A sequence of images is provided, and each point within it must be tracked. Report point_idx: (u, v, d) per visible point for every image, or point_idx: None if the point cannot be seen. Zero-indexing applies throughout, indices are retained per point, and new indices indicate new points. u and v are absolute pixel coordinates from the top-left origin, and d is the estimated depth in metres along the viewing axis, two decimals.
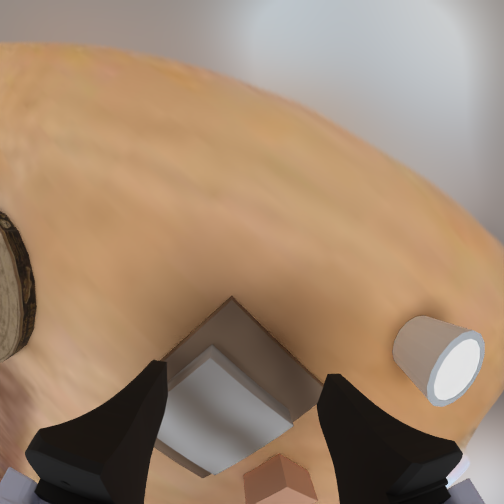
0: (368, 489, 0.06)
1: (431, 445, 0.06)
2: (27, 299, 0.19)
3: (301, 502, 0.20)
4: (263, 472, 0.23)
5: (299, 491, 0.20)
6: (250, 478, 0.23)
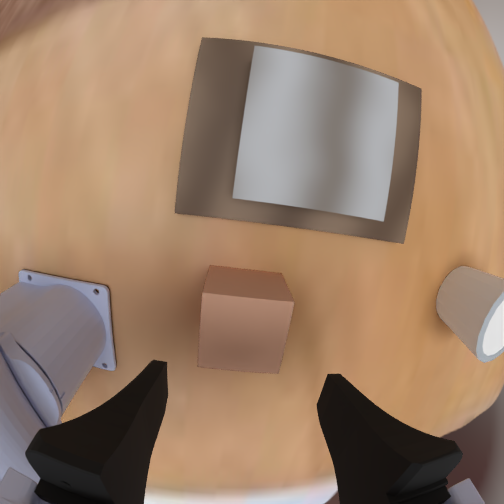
0: (368, 489, 0.06)
1: (431, 445, 0.06)
2: None
3: (265, 355, 0.16)
4: (250, 276, 0.19)
5: (287, 330, 0.16)
6: (222, 271, 0.19)
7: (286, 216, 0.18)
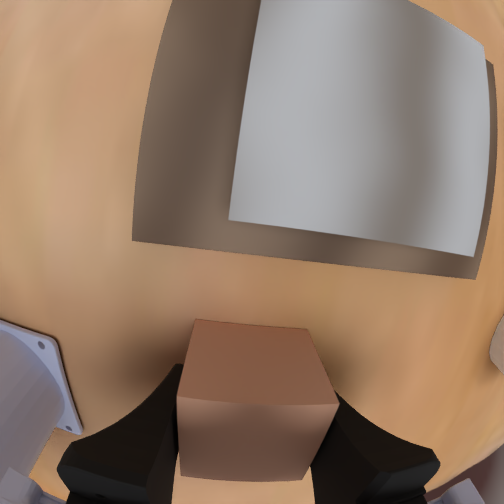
0: (340, 495, 0.06)
1: (405, 452, 0.06)
2: None
3: (283, 465, 0.09)
4: (259, 343, 0.11)
5: (321, 436, 0.09)
6: (214, 335, 0.11)
7: (322, 246, 0.11)
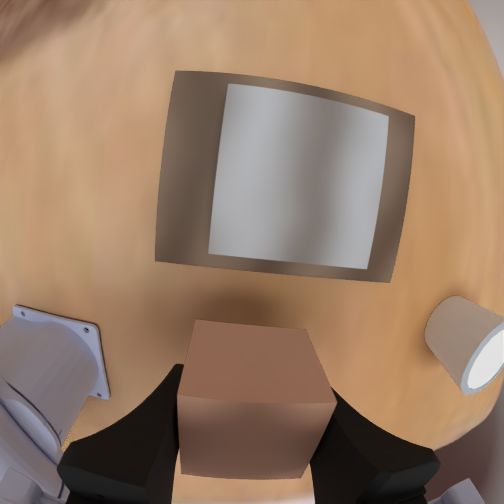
0: (340, 495, 0.06)
1: (406, 452, 0.06)
2: None
3: (282, 463, 0.09)
4: (258, 342, 0.11)
5: (319, 434, 0.09)
6: (214, 335, 0.11)
7: (266, 262, 0.18)
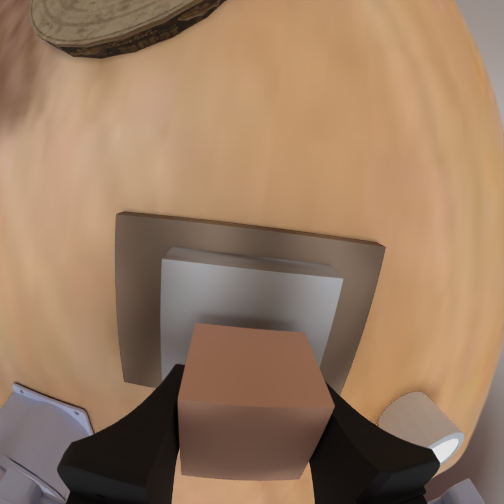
0: (340, 495, 0.06)
1: (405, 453, 0.06)
2: (183, 19, 0.12)
3: (281, 465, 0.09)
4: (258, 346, 0.11)
5: (317, 437, 0.09)
6: (214, 338, 0.12)
7: None
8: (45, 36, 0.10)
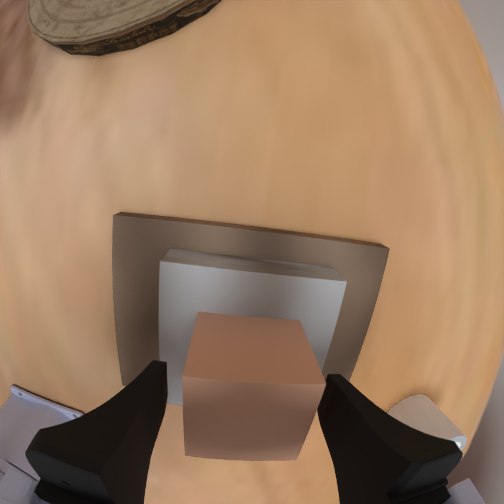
0: (368, 489, 0.06)
1: (431, 445, 0.06)
2: (182, 15, 0.12)
3: (278, 444, 0.10)
4: (256, 331, 0.13)
5: (312, 416, 0.10)
6: (215, 325, 0.13)
7: None
8: (42, 33, 0.10)
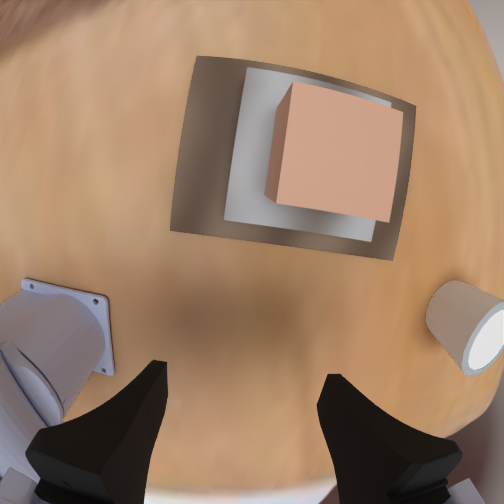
0: (368, 489, 0.06)
1: (431, 445, 0.06)
2: None
3: (373, 185, 0.11)
4: None
5: (397, 153, 0.11)
6: None
7: (277, 235, 0.19)
8: None
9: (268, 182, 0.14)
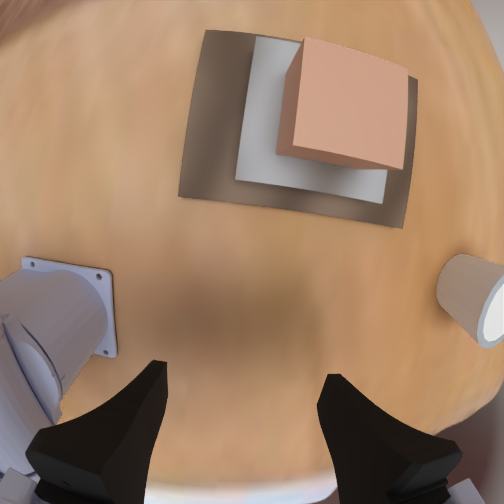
0: (368, 489, 0.06)
1: (431, 445, 0.06)
2: None
3: (385, 132, 0.11)
4: None
5: (405, 106, 0.10)
6: None
7: (287, 199, 0.18)
8: None
9: (280, 139, 0.14)
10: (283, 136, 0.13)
